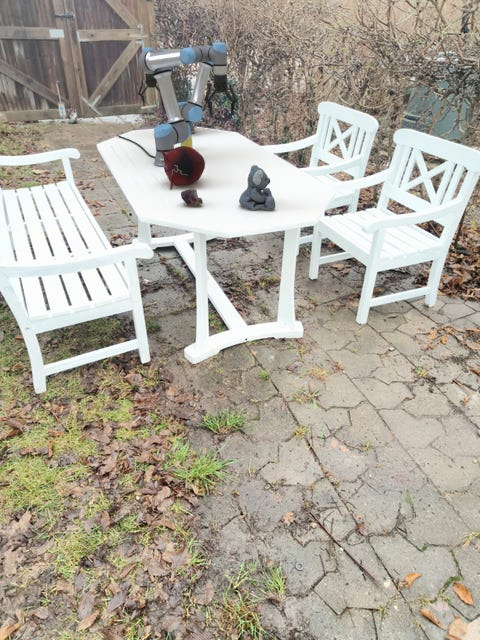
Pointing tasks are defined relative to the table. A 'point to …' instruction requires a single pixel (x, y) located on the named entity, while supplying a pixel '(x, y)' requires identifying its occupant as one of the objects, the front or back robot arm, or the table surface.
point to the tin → (187, 142)
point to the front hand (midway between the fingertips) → (221, 114)
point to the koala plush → (257, 191)
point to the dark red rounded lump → (183, 165)
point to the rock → (191, 197)
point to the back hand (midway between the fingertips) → (153, 105)
